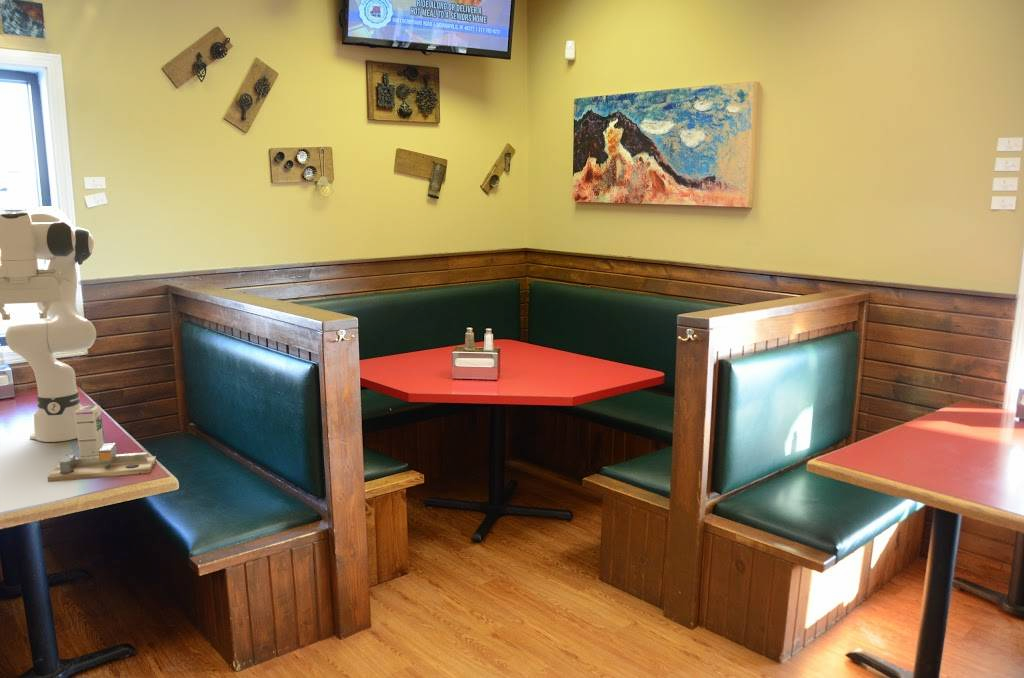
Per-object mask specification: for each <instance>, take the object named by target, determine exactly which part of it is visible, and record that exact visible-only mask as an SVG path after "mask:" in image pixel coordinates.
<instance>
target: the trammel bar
mask: <svg viewBox="0 0 1024 678" xmlns="http://www.w3.org/2000/svg"><path fill="white" fill-rule="evenodd" d="M116 454H117V453H116ZM76 456H77V454H75V453H74V454H66V455H65V456H63V458H62V459H61V460H60V461H59V464H60V472H61V474H65V473H71V471H72V470H73V469H74V468H75V467H76V466H87V465H100V464H105V462H104V463H100V461H99V456H87V457H81V456H79V457H76ZM147 457H148V452H147V451H145V452H132V453H119V454H117V455H116V456H115V457H114V459H113V460H112V462H109V464H112V463H125V462H137V461H146V460H147Z"/></svg>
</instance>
